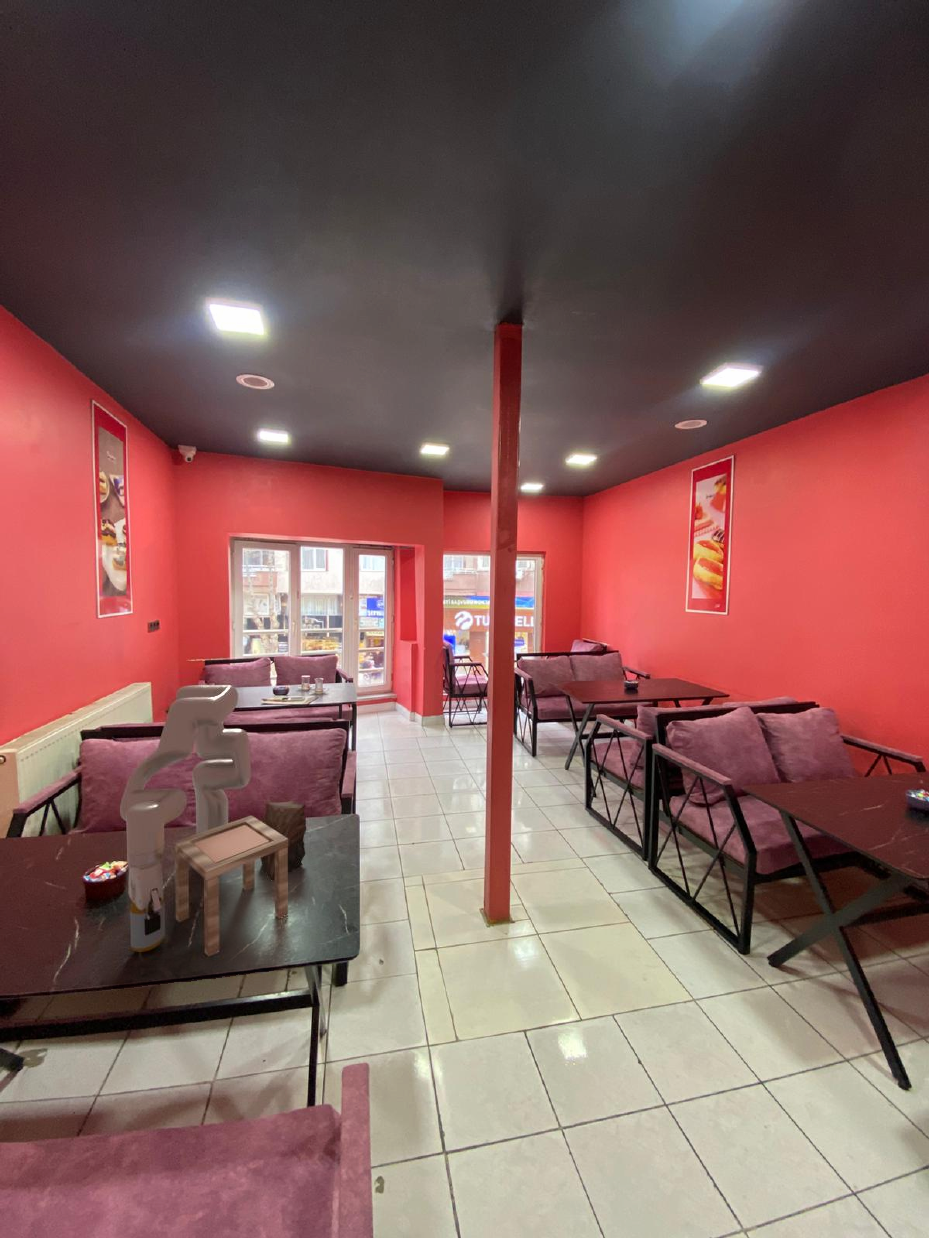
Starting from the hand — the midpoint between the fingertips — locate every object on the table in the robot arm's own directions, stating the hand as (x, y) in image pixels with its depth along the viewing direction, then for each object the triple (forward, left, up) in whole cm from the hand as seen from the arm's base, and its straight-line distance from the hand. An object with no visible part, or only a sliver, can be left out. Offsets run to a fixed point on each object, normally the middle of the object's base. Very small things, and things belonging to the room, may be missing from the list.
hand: (148, 924), depth 117 cm
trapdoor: (+3, +19, +14) cm, 23 cm away
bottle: (0, 0, -5) cm, 5 cm away
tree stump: (-9, +39, -6) cm, 40 cm away
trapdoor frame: (+3, +19, -6) cm, 20 cm away
